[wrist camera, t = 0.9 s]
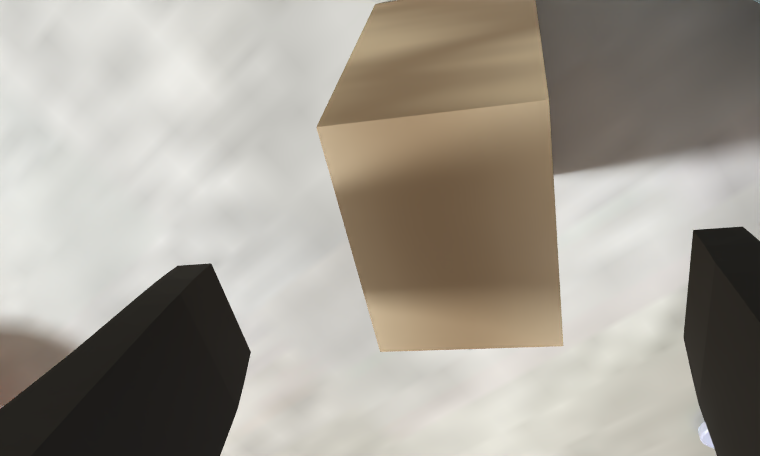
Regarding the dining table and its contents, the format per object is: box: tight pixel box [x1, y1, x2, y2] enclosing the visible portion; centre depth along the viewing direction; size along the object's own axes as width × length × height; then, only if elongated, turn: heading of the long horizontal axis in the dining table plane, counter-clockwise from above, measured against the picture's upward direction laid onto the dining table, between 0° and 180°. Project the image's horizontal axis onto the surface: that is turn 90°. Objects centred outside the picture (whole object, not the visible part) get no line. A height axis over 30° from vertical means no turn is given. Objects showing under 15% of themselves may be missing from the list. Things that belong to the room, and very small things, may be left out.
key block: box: [317, 0, 563, 352], centre depth 13 cm, size 4×5×6 cm
